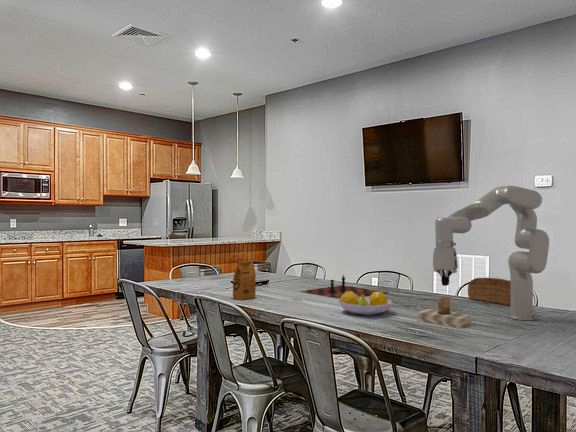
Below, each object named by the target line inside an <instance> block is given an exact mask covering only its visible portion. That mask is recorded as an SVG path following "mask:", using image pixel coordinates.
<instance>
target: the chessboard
mask: <svg viewBox="0 0 576 432" xmlns="http://www.w3.org/2000/svg"><path fill="white" fill-rule="evenodd" d="M345 280H346V277H345V275H342V277H341V285H340V284H339V285H335V283H334V282H335V279H329V281H330V286H327V287H319V288H312V289H305V290H300V291H299V292H300V293H304V294H311V295H314V296H321V297H327V298H332V299H338V300H339V299H340V298H341V296H342V295H343V294H344V293H346V292H349V291H352V292H353V293H355V294H356V295H358V297H362V295H364V297H370V295H371V294H372V293H373V292H383V293H384V295H386V294H389V291H383V290H382V291H381V290H376V289H369V288H364V287H358V286H357V287H356V286H352V285H351V286H349V285H346V281H345Z"/></svg>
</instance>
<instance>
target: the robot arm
mask: <svg viewBox="0 0 576 432" xmlns="http://www.w3.org/2000/svg"><path fill="white" fill-rule="evenodd" d="M542 203H543V198H542V195H541V194H540V193H539V192H538V191H536V190H534V189H528V188H525V187H520V186H515V185H502V186H496V187H494V188H493V189H492V190H490V191H488V192H487V193H486V194H485V195H483V196H482V197H480V198H478V199H477V200H476V201H474V202H472V203H469V204H468V205H466V206H463V207H461V208H459V209H457V210H455V212H454V211H453V213H452V214H449V216H447V217H438V218H436V219H435V220H434V225H435V226H434V227H435V228H434V229H435V235H434V236H435V247H434V250H433V255H432V267H433V272H435V273H438V274H439V275H440V277H441V284H442V286H445V287H447V286H449V284H450V277H451V275H452V274H456V273H457V272H458V270H457V269H458V267H459V265H458V255H457V254H458V253H457V252H456V251H457V250H456V248H455V247H454V246H456V245H457V243H456V242H454V234H466V233H468V232H470V230H471V229H472V224H473V223H472V221H474V220H475V221H476V220H479V219H483V218H486V217H488V216H490V215H491V214H492V213H494V212H495V211H497V210H498V209H500V208H502V206H504V205H509V207H510V208H511V209H512V210H513V212H514V213H515V215H516V226H515V227H516V228H515V235H514V244H515V246H516V247H517V248H520V249H525V250H528V251H524V250H523V251H521V250H518V251H514V252H512V253H510V255H509V256H508V259H507V263H508V264H507V265H508V268H509V274H510V281H511V305H510V313H507V314H506V317H507V318H508V319H512V320H516V321H536V320H537V317H539V318H543V316H544V315H543V314H544V313H543V312H540V311H539V312H538V311H536V309H535V308H534V306H533V305H534V303H533V302H534V299H533V297H534V295H533V294H534V279H533V276H532V274H541V273H542V272H543V271H545V269H546V266H547V263H548V256H549V255H548V254H549V248H550V239H549V235H548V234H547V232H546V231H544V230H542V229H539V228H538V227H537V225H538V216H537V214H536V212H535V209H538V208H539V207H541V205H542Z"/></svg>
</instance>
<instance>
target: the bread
mask: <svg viewBox="0 0 576 432" xmlns="http://www.w3.org/2000/svg"><path fill="white" fill-rule="evenodd" d="M467 296H468V298H469V299H470V300H474V301H481V302H487V303H493V304H494V303H496V304H500V305H504V306H505V305H506V306H511V280H508V279H504V278H498V277H477V278H473V279H472V280H471V281H469V283H468V285H467ZM477 299H478V300H477ZM482 300H483V301H482Z"/></svg>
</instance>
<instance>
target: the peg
mask: <svg viewBox="0 0 576 432" xmlns="http://www.w3.org/2000/svg"><path fill="white" fill-rule="evenodd" d="M437 298H438V299H437V310H438V314H443V315H448V314H450V312H451V298H450V297H446V296H439V297H437Z"/></svg>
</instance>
